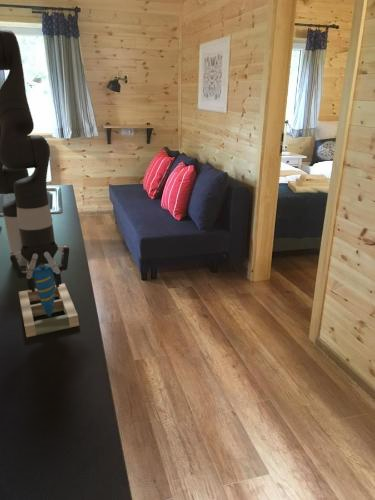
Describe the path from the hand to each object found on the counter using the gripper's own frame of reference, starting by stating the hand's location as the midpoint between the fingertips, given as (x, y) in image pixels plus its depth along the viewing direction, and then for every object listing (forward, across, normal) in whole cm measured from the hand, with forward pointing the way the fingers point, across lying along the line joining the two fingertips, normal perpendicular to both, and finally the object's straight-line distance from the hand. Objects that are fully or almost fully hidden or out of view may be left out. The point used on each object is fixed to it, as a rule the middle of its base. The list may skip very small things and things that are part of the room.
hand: (45, 288), depth 105 cm
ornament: (+8, 0, 0) cm, 8 cm away
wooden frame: (+9, 0, -4) cm, 10 cm away
